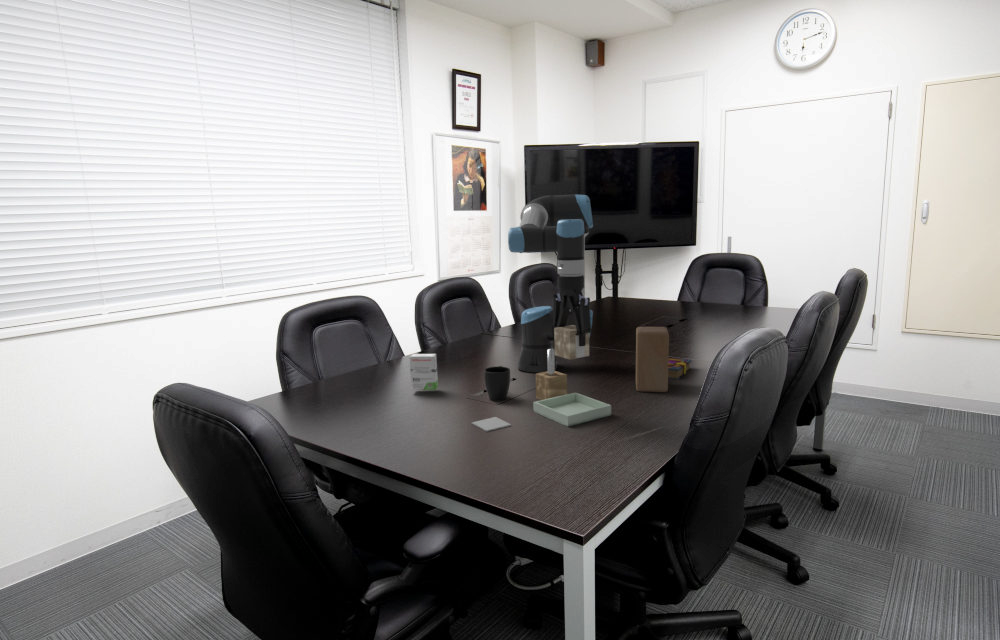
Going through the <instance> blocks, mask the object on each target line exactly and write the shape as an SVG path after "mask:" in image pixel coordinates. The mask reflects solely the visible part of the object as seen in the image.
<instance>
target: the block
mask: <svg viewBox="0 0 1000 640" xmlns="http://www.w3.org/2000/svg"><path fill="white" fill-rule="evenodd" d="M635 330H636V331H635V389H636V391H637V392H647V393H648V392H649V393H651V392H653V393H666V392H668V391H669V378H668V362H669V358H670V357H669V351H670V350H669V349H670V347H669V346H670V334H669V331H668V328H667V327H665V326H638V327H636V329H635Z"/></svg>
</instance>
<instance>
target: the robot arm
mask: <svg viewBox="0 0 1000 640" xmlns="http://www.w3.org/2000/svg"><path fill="white" fill-rule="evenodd" d="M592 214H593V213H592V207H591V199H590V197H589V196H588V195H586V194H561V195H560V194H559V195H543V196H540V197H536V198H535V199H532V200H530V201H529V202H527V204H525V205H524V206H523V208H522V209H521V212H520V217H519V218H520V223H519V226H516V227H515V226H514V227H510V228H509V229H508V234H507V238H508V240H507V242H508V243H507V244H508V245H507V246H508V249H509V252H511V253H520V254H523V253H524V254H526V253H529V254H530V253H557V255H556V257H557V258H556V259H557V263H556V264H557V268H556V269H557V274H558V276H557V281H556V283H557V289H558V290H559V293H553V294H552V299H553V307H552V306H549V305H542V306H541V305H540V306H535V307H530V308H526V309H525V310H523V311H522V313H521V315H520V317H521V319H520V324H521V351H520V353H519V358H518V361H517V369H518V370H519V369H520V370H519V371H521V370H523V371H522V372H525V371H526V373H542V372H547V371H548V363H547V349H554V348H553V342H554V328H558V327H564V326H570V325H576V329H577V334H576V335H575V346H576V359H580V357H581V358H586V357H585V344H586V334H587V333H589V338H591V337H590V336H591V334H592V333H591V332H592V326H593V315H594V312H593V310H592V309H590V302H591V299H590V297H586V292H585V289H586V274H585V273H586V259H585V257H586V256H585V255H586V254H585V253H586V252H585V251H586V250H585V249H586V248H585V247H586V245H585V243H586V241H585V240H586V237H587V236H588V235H589V234H590V229H592V228H593V227H594V223H593V215H592ZM554 360H555V370H556V369H558V360H557V356H556V355H555V353H554Z"/></svg>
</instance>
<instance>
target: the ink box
mask: <svg viewBox="0 0 1000 640" xmlns="http://www.w3.org/2000/svg"><path fill="white" fill-rule="evenodd" d="M437 363H438V362H437V353H412V354H411V355H410V356H409V367H410V368H409V370H410V384H411V385H410V386H411V390H412V391H436V390H437V389H438V387H439V377H438V364H437Z"/></svg>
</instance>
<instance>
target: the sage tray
mask: <svg viewBox="0 0 1000 640" xmlns="http://www.w3.org/2000/svg"><path fill="white" fill-rule="evenodd" d="M532 404H533V413H535V414H538V415H540V416H543V417H545V418H547V419H549V420H551V421H553V422H556V423H559V424H560V425H563V426H565V427H566V428H568V427H572V426H576V425H580V424H584V423H587V422H590V421H595V420H599V419H601V418H606V417H609V416H612V405H611V404H609V403H606V402H603V401H600V400H598V399H595V398H592V397H589V396H587V395H584V394H581V393H578V392H572V393H567V394H566V395H562V396H558V397H553V398H549V399H545V400H536V401H533V403H532Z"/></svg>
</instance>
